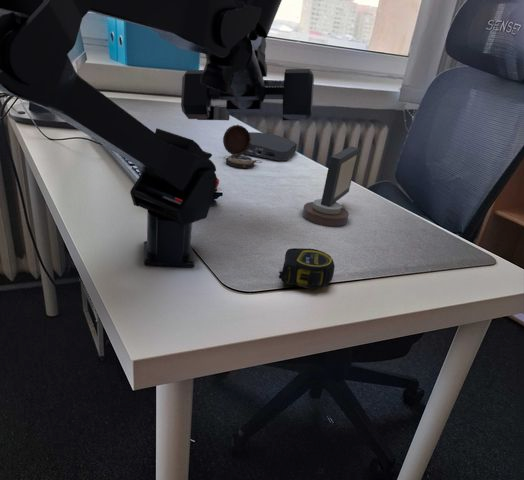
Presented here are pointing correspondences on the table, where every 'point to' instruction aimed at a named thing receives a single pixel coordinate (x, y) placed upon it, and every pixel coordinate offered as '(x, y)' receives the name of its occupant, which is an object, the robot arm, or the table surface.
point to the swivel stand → (325, 216)
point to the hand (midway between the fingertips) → (256, 117)
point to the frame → (337, 181)
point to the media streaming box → (271, 146)
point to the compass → (238, 147)
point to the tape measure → (307, 268)
